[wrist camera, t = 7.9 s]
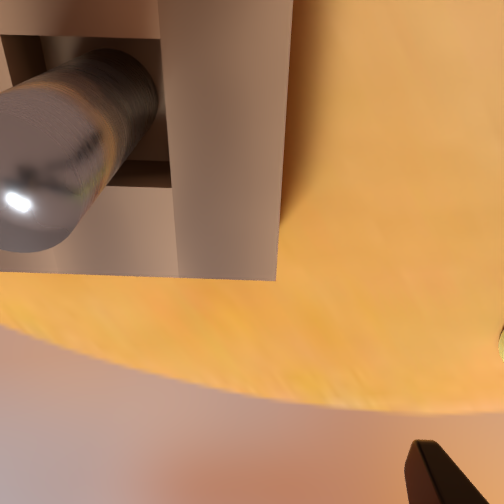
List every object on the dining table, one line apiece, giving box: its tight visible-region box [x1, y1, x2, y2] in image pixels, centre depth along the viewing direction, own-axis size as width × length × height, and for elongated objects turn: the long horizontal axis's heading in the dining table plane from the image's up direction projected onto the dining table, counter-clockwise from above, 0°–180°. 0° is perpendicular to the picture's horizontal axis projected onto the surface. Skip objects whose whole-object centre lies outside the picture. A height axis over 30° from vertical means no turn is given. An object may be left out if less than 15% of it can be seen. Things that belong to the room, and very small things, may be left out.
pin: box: [0, 48, 158, 253], centre depth 13 cm, size 3×3×8 cm
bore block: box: [0, 0, 293, 281], centre depth 16 cm, size 12×12×4 cm
